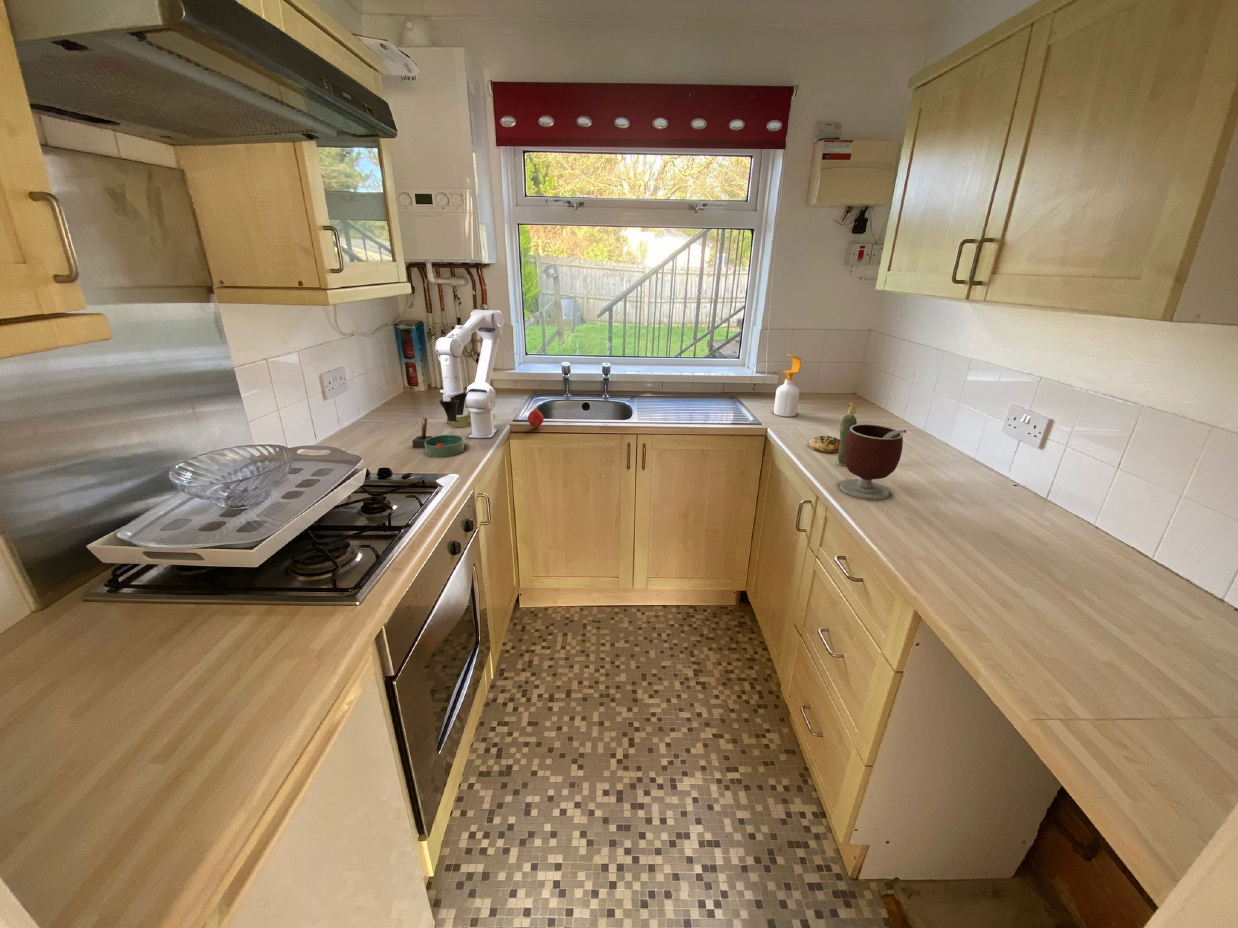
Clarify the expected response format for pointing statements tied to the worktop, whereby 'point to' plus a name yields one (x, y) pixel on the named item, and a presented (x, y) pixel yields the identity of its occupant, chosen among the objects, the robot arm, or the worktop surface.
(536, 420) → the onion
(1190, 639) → the worktop surface
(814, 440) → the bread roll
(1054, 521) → the worktop surface
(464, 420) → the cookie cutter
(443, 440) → the bowl
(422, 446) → the holder
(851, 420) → the vegetable
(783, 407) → the soap bottle
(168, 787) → the worktop surface
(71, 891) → the worktop surface
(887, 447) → the mate gourd
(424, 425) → the stick
